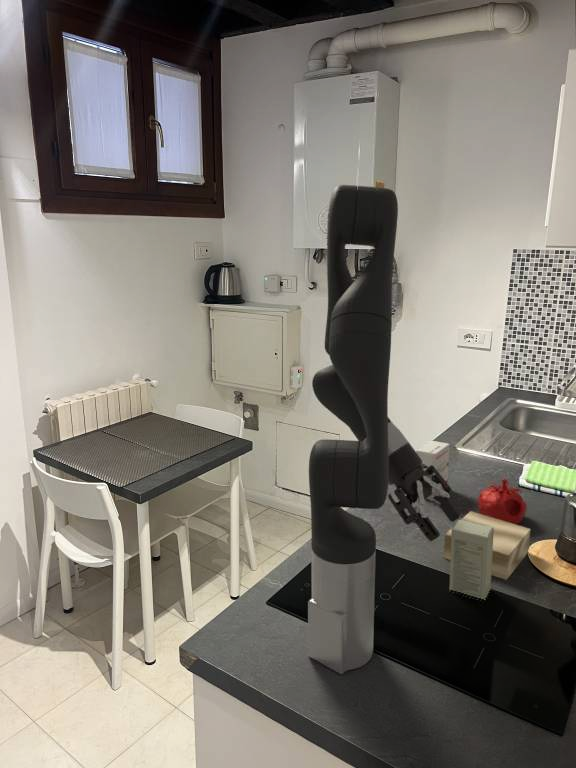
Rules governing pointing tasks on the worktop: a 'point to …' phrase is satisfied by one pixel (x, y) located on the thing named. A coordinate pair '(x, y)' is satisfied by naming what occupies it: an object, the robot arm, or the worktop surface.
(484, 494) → the pomegranate
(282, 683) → the worktop surface
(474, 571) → the skincare box
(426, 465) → the ink box
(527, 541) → the birch block
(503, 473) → the worktop surface
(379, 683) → the worktop surface
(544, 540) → the worktop surface
